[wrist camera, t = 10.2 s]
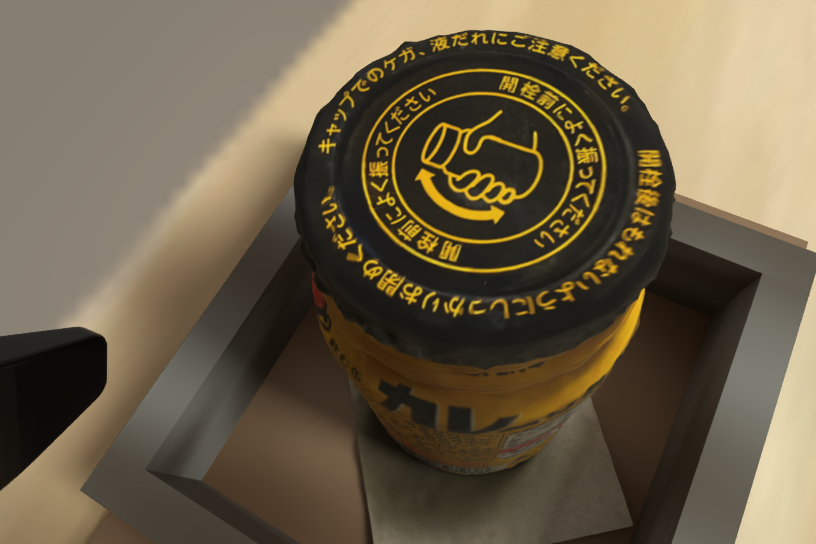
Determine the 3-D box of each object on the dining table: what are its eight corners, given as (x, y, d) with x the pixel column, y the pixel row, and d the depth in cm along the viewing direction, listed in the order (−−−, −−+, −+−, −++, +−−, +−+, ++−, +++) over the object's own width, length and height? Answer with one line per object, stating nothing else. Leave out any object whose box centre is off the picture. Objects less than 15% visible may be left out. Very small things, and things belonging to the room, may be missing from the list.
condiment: (544, 263, 20) (640, -61, 9) (631, 526, 16) (964, 515, 6) (337, 308, 20) (185, 39, 9) (381, 581, 16) (216, 680, 5)
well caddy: (578, 936, 14) (623, 1097, 10) (85, 571, 18) (-20, 582, 14) (795, 252, 20) (875, 185, 16) (395, 103, 24) (382, 21, 20)
